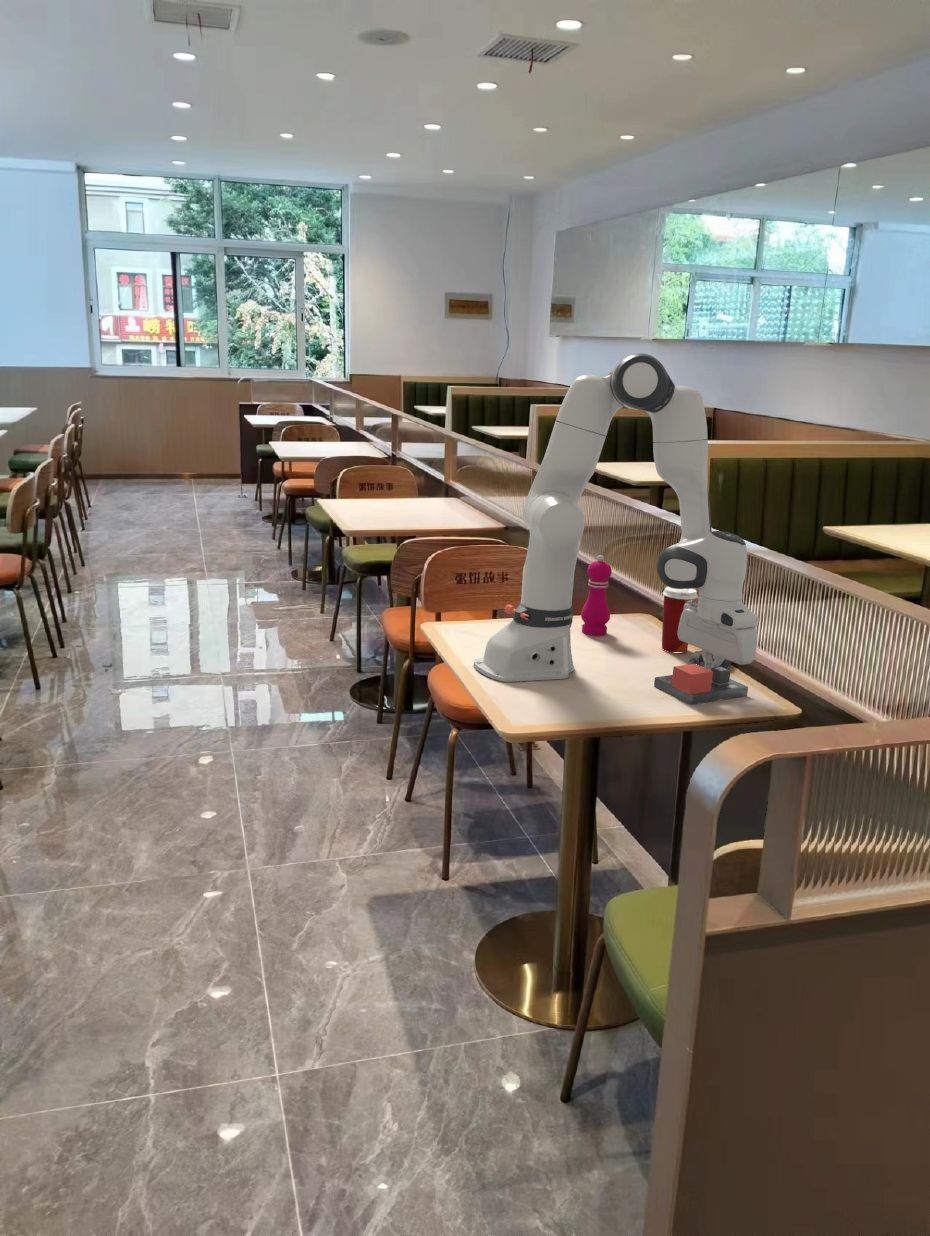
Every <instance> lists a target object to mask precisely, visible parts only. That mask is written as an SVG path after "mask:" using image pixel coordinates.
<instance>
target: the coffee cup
mask: <svg viewBox="0 0 930 1236" xmlns="http://www.w3.org/2000/svg"><path fill="white" fill-rule="evenodd" d="M697 593H698V592H697V589H696V588H693V589H675V588H671V587H668V586H666V587H665V589H664V591H663V592H662V595H663V610H662V611H663V613H662V628H661V629H662V631H661V649H664V650H666V651H668V652H667V653H670V652H685V653H687V652H686V651H688V648H689V644H688V643H686V642H683V641H681V640H679V638H678V635H677V633H678V627H679V622H680V618H681V615H682V612H683V609H684V604H686V602H688V601H690V600H694V601H696V602H697V599H699V594H697ZM688 604H689V603H688ZM664 650H663V651H664ZM666 651H665V652H666Z"/></svg>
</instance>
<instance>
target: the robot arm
mask: <svg viewBox="0 0 930 1236" xmlns="http://www.w3.org/2000/svg"><path fill="white" fill-rule="evenodd" d="M703 400H704V399H703V397H702V395H701V393H700V392H699V390H698V389H696V388H693V387H691V386H689V385H675V383H674V382H673V380H672V377H670V375H669V374H668V371H667V370H666V368H665V367H664V366H663V363H662V362H661V361H659V360H658V358H656V357H654V356H653V355H651V354H648V353H633V354H630V355H627V356H625V357H624V358H623V359H621V360H620V361H619V362H618V363H617V365H616V366H615V367H614V368H613V370H611V372H609V373H608V374H607V376H600V375H596V374H584V375H583V374H582V375H580V376H577V377H576V378H575V379H574V380H573V381H572V383H571V384H570V387H569V388H568V389H567V392H566V394H565V396H564V398H563V400H562V403H561V405H560V407H559V410H558V413H557V416H556V418H555V422H554V425H553V428H552V430H551V431H552V432H551V434H550V436H549V437H550V438H549V441H548V445H547V447H546V450H545V453H544V457H543V459H542V461H541V464H540V466H539V468H538V470H537V473H536V475H535V476H534V480H533V482H532V484H531V487H530V489H529V491H528V495H527V496H526V499H525V502H524V503H523V508H522V518H523V521H524V524H525V526H526V527H527V529H528V530H529V540H528V546H527V553H526V557H525V562H524V565H523V568H522V569H523V570H522V582H521V583H522V585H521V596H520V597H521V599H520V602H519V603H518V605H517V607H516V606H513V605H512V604H506V605H505V606H504V612H505V614H509V615H511V616H512V620H511V621H509V623H507V624H506V625H504V627H502V628H501V629H500V630H499V631H497V632H496V633H495V634H494V635H492V636H491V637H490V638H489V639H488V640H487V642H486V645H485V651H484V653H483V657H479V658H475V659H474V660H473V667H474V668H475V669H476V671H477V672H479V673H480V674H482V675H484V676H486V677H488V678H491V679H493V680H496V681H500V682H506V683H508V682H509V683H510V682H527V681H542V680H544V681H546V680H547V681H548V680H560V679H561V680H562V679H568V678H569V677H570V674H571V672H573V671H574V669H575V665H574V660H573V655H572V644H571V627H572V623H573V618H574V606H573V605H572V603H573V593H574V592H573V590H574V580H575V579H574V578H575V570H576V566H577V565H576V564H577V561H578V557H579V554H580V547H581V543H582V538H583V533H584V532H585V516H584V512H583V509H582V508H581V506H580V505H579V502H580V498H581V497H582V494H583V492H584V490H585V489H586V486H587V484H588V483H589V481H590V479H591V478H592V476H594V474H595V471H596V468H597V466H598V465H597V464H598V463H599V459H600V456H601V453H602V450H603V446H604V444H605V440H606V437H607V434H608V431H609V428H610V425H611V422H612V420H613V418H614V417H615V414H616V413H617V412H618V411H619V410H620V409H629V410H634V411H638V410H639V411H644V412H646V413H647V414H648V416H649V418H650V420H651V423H652V424H651V425H652V442H653V443H652V445H653V446H652V448H653V449H652V450H653V451H652V452H653V460H654V466H655V470H656V474H657V475H658V476H659V478H661V480H663V481H664V482H665V483H666V484H668V485H669V486H670V487H671V488H672V489H673V490H674V492H675V493H676V496H677V499H678V503H679V515H680V527H681V536H680V540H679V542H678V543H675V544H672V545H670V546H669V547H667V548H664V550H663V551H662V552H661V553H660V554H659V555H658V557H657V560H656V572H657V573H656V574H657V575H658V579H660V580H661V583H662V584H664V585H665V586H666V587H671V588H675V589H696V590H699V594H698V601H697V600H696V601H694V600H690V601H688V602H686V604H684V609H683V612H682V615H681V618H680V622H679V627H678V633H677V635H678V638H679V640H681V641H683V642H686V643H688V645H691V646H693V647H696V648H698V649H700V650H701V651H702V657H703V660H704V663H705V664H704V667H703V668H706V669H708V670H710V671H711V668H716V667H719V666H720V665H721V664H722V662H723V661H724V660H725V659H727V660H729V661H732V663H735V664H736V665H740V666H741V665H743V666H744V665H750V664H751V663H752V662H754V660H755V658H756V654H757V646H758V645H757V644H758V631H757V630H756V628H755V627H758V626H759V624H760V619H759V617H758V615H756V614H755V613H754V612H753V611H752V610H751V609H749V607H748V606H747V605H745V604H744V603H743V584H744V583H745V582H744V581H745V579H746V575H747V574H746V573H747V564H748V547H747V543H746V541H745V540H744V539H743V538H742V537H740V536H739V535H737V534H735V533H732V532H728V531H722V530H712V520H711V507H710V495H709V494H710V493H709V483H708V480H709V479H708V461H709V459H708V454H709V453H708V452H709V451H708V449H709V447H708V445H709V444H708V443H709V442H708V437H709V436H708V424H707V416H706V410H705V409H706V408H705V405H704V401H703ZM688 603H689V604H688ZM712 655H713V659H715V660H714V661H713V660H712Z"/></svg>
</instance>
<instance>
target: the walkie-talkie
mask: <svg viewBox="0 0 930 1236" xmlns="http://www.w3.org/2000/svg"><path fill="white" fill-rule="evenodd" d="M712 660H713V661H714V660H715V659H713V655H712ZM732 663H733V662H732V661H729V660H727V659H725V660H724V661H723V662H722V664H721V665H720V666H719V667H723V668H726V669H728V670H729V668H728V667H730V666H731V665H732ZM688 664H697V665H699V666H701V667H703V666H704V664H705V663H704V660H703V657H702V650H696V651H694V652H693V653H692V654H691V655H689V661H688Z"/></svg>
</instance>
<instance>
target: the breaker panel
mask: <svg viewBox="0 0 930 1236" xmlns="http://www.w3.org/2000/svg"><path fill="white" fill-rule="evenodd" d="M672 676H673V674H669V675H663V676H656V677H654V683H653V687H655V688H657V689H658V690H660V691H663V692H665V693H667V694H669V695H671V696H673V697H675V698H677V699H679V700H681V701H683V700H684V702H686V703H688V704H690V705H699V704H703V703H710V702H711V703H712V702H717V701H722V700H724V701H725V700H728V699H735V698H736V699H737V698H743V697H748V690H749V686H747V685H745V684H744V683H741V682H738V681H736V680H733V679H731V678H730V680H729V682H726V683H717V682H715V681H713V680H712V684H711V691H709V692H702V693H696V694H688V693H686V692H683V691H681V690H679V689H677V688H675V687H673V686H671V685H672ZM698 703H699V704H698Z"/></svg>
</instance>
